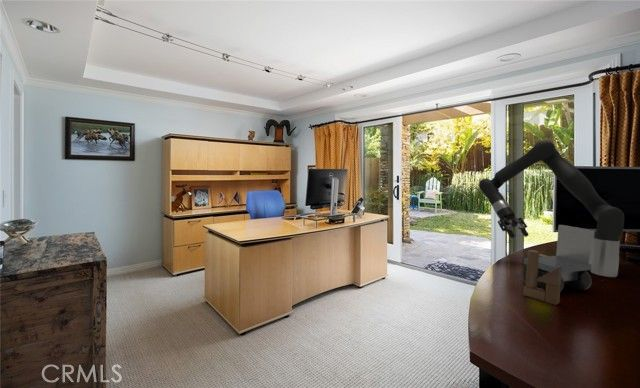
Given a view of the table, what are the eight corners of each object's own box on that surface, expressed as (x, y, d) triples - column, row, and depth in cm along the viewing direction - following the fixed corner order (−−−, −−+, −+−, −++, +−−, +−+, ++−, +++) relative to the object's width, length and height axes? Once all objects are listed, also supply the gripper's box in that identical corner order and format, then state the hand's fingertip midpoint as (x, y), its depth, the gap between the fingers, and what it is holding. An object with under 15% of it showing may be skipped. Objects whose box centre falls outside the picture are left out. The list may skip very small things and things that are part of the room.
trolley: (553, 279, 137) (557, 224, 136) (593, 292, 122) (598, 230, 120) (519, 282, 132) (523, 225, 130) (556, 297, 117) (561, 232, 115)
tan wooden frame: (556, 305, 109) (559, 256, 108) (522, 295, 118) (525, 250, 116) (559, 303, 111) (563, 255, 110) (526, 293, 120) (529, 249, 119)
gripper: (496, 207, 156) (514, 234, 147) (518, 205, 160) (536, 232, 151) (488, 214, 162) (504, 241, 153) (509, 213, 166) (525, 239, 157)
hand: (520, 236), depth 152 cm, fingers open, 8 cm apart
